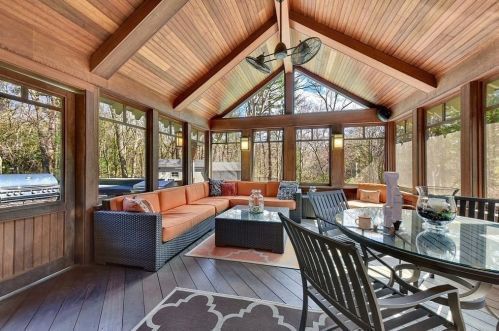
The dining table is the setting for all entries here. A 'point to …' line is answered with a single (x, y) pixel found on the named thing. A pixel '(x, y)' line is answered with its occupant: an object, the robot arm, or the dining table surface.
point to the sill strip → (383, 233)
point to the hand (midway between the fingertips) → (396, 230)
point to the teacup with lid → (364, 221)
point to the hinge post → (391, 230)
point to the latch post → (375, 228)
